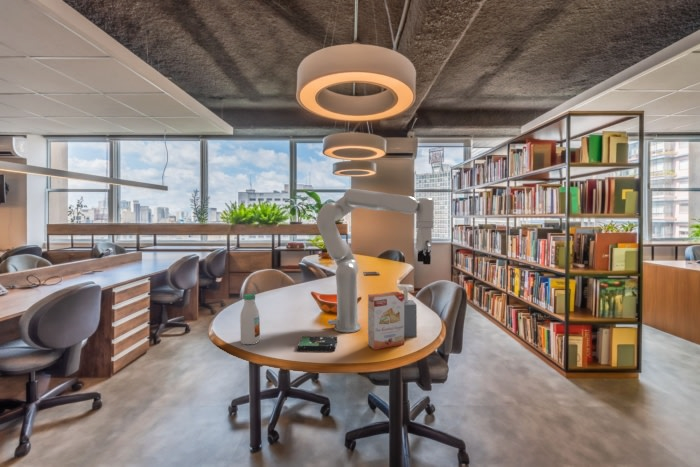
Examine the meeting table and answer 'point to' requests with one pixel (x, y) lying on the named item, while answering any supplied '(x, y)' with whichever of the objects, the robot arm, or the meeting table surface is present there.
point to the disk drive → (317, 344)
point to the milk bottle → (249, 321)
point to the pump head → (405, 290)
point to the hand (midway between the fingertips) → (423, 262)
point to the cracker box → (385, 320)
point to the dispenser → (410, 319)
